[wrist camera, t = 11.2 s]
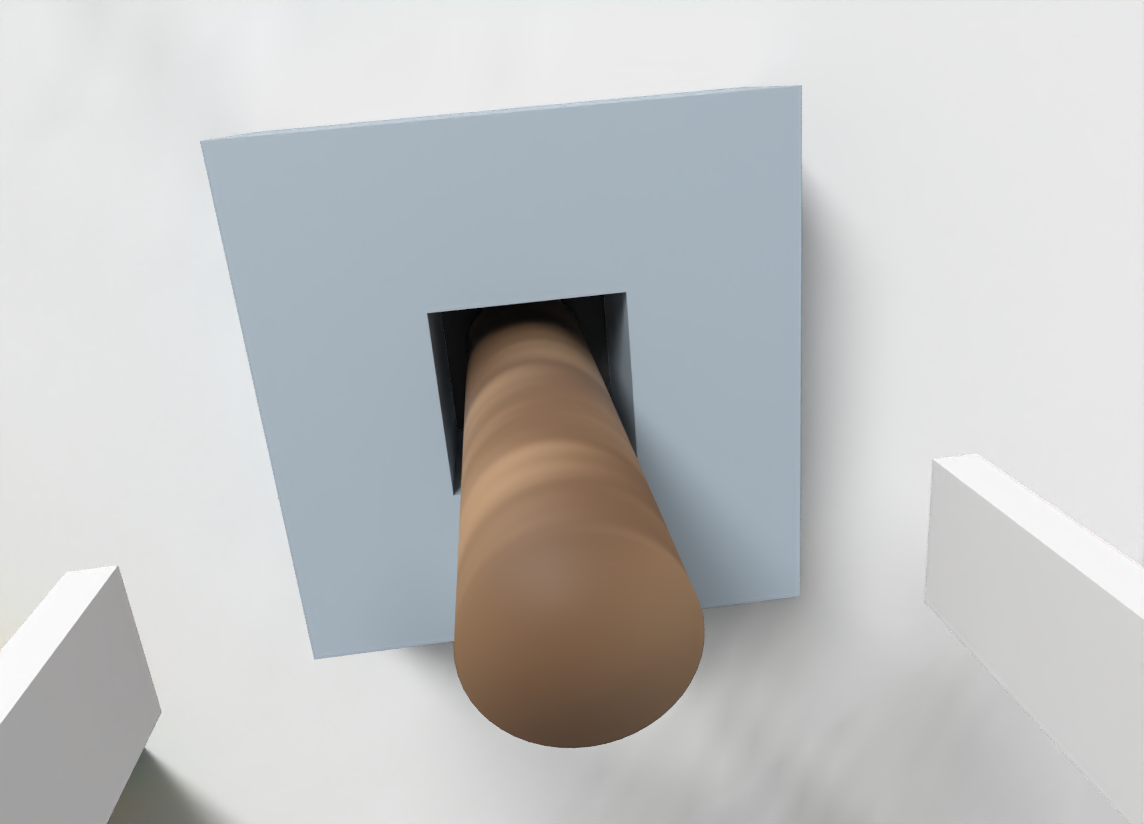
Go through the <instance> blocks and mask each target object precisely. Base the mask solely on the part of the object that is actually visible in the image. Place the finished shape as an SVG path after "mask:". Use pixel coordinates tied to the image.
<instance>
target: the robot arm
mask: <svg viewBox="0 0 1144 824" xmlns="http://www.w3.org/2000/svg"><path fill="white" fill-rule="evenodd" d="M924 603H925V604H926V605H927V606H928V607H929V608H930V609H931V610H932V611H933V612H934V613H935V614H936V616H937V617H938V618H939V619H940V620H941V621H942V622H943V623H944V624H945V625H946V626H947V627H948V629H949V630H950V631H951V632H952V633H953V634H954V635H955V636H956V637H957V638H958V639H959V640H960V642H961V643H962V644H963V645H964V646H965V647H966V648H967V649H968V650H969V651H970V652H971V653H972V654H973V656H974V657H975V658H976V659H977V660H978V661H979V662H980V663H981V664H982V665H983V666H984V667H985V669H986V670H987V671H988V672H989V673H990V674H991V675H992V676H993V677H994V678H995V679H996V680H997V682H998V683H999V684H1000V685H1001V686H1002V687H1003V688H1004V689H1005V690H1006V691H1007V692H1008V693H1009V695H1010V696H1011V697H1012V698H1013V699H1014V700H1015V701H1016V702H1017V703H1018V704H1019V705H1020V706H1021V708H1022V709H1023V710H1024V711H1025V712H1026V713H1027V714H1028V715H1029V716H1030V717H1031V718H1032V719H1033V721H1034V722H1035V723H1036V724H1037V725H1038V726H1039V727H1040V728H1041V729H1042V730H1043V731H1044V732H1045V733H1046V735H1047V736H1048V737H1049V738H1050V739H1051V740H1052V741H1053V742H1054V743H1055V744H1056V745H1057V746H1058V748H1059V749H1060V750H1061V751H1062V752H1063V753H1064V754H1065V755H1066V756H1067V757H1068V758H1069V759H1070V761H1071V762H1072V763H1073V764H1074V765H1075V766H1076V767H1077V768H1078V769H1079V770H1080V771H1081V772H1082V774H1083V775H1084V776H1085V777H1086V778H1087V779H1088V780H1089V781H1090V782H1091V783H1092V784H1093V785H1094V787H1095V788H1096V789H1097V790H1098V791H1099V792H1100V793H1101V794H1102V795H1103V796H1104V797H1105V798H1106V799H1107V800H1108V802H1109V803H1110V804H1111V805H1112V806H1113V807H1114V808H1115V809H1116V810H1117V811H1118V813H1120V815H1122V817H1123V818H1124V819H1125V820H1126V821H1127V822H1128V823H1129V824H1144V568H1143V567H1142V566H1140V565H1139V564H1138V563H1136V562H1135V561H1133V560H1132V559H1130V558H1129V557H1127V556H1126V555H1124V554H1123V553H1121V552H1120V551H1119V550H1117V549H1116V548H1114V547H1113V546H1111V545H1110V544H1108V543H1107V542H1105V541H1104V540H1102V539H1101V538H1100V537H1098V536H1097V535H1095V534H1094V533H1092V532H1091V531H1089V530H1088V529H1086V528H1085V527H1083V526H1082V525H1081V524H1079V523H1078V522H1076V521H1075V520H1073V519H1072V518H1070V517H1069V516H1067V515H1066V514H1064V513H1063V512H1061V511H1060V510H1059V509H1057V508H1056V507H1054V506H1053V505H1051V504H1050V503H1048V502H1047V501H1045V500H1044V499H1042V498H1041V497H1040V496H1038V495H1037V494H1035V493H1034V492H1032V491H1031V490H1029V489H1028V488H1026V487H1025V486H1023V485H1022V484H1021V483H1019V482H1018V481H1016V480H1015V479H1013V478H1012V477H1010V476H1009V475H1007V474H1006V473H1004V472H1003V471H1001V470H1000V469H999V468H997V467H996V466H994V465H993V464H991V463H990V462H988V461H987V460H985V459H984V458H982V457H981V456H980V455H978V454H977V453H976V454H968V455H961V456H953V457H945V458H938V459H933V461H932V479H931V496H930V514H929V532H928V549H927V567H926V584H925V602H924ZM160 714H161V709H160V705H159V702H158V698H157V695H156V692H155V688H154V685H153V682H152V678H151V675H150V671H149V668H148V665H147V661H146V658H145V654H144V651H143V648H142V644H141V641H140V638H139V634H138V631H137V627H136V624H135V621H134V617H133V614H132V611H131V607H130V604H129V600H128V597H127V594H126V590H125V587H124V583H123V580H122V577H121V573H120V570H119V567H118V565H115V566H107V567H100V568H92V569H84V570H76V571H69V572H66V573H65V574H64V575H63V577H62V578H61V579H60V580H59V581H58V583H57V584H56V585H55V586H54V587H53V589H52V590H51V591H50V592H49V593H48V595H47V596H46V597H45V598H44V599H43V600H42V602H41V603H40V604H39V605H38V606H37V608H36V609H35V610H34V611H33V612H32V614H31V615H30V616H29V617H28V618H27V620H26V621H25V622H24V623H23V624H22V625H21V627H20V628H19V629H18V630H17V631H16V633H15V634H14V635H13V636H12V637H11V639H10V640H9V641H8V642H7V643H6V645H5V646H4V647H3V648H2V649H1V651H0V824H107V822H108V820H109V818H110V816H111V814H112V812H113V810H114V808H115V806H116V804H117V802H118V800H119V798H120V796H121V794H122V792H123V790H124V788H125V786H126V784H127V781H128V779H129V777H130V775H131V773H132V771H133V769H134V767H135V765H136V763H137V761H138V759H139V757H140V755H141V753H142V751H143V749H144V747H145V745H146V743H147V741H148V739H149V737H150V735H151V733H152V731H153V729H154V726H155V724H156V722H157V720H158V718H159V716H160Z"/></svg>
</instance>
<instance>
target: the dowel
mask: <svg viewBox="0 0 1144 824" xmlns="http://www.w3.org/2000/svg"><path fill="white" fill-rule="evenodd" d="M703 646H704V620H703V614H702V610H701V606H700V603H699V600H698V598H697V595H696V593H695V591H694V589H693V586H692V584H691V582H690V579H689V577H688V575H687V572H686V570H685V568H684V565H683V563H682V561H681V559H680V556H679V554H678V552H677V549H676V547H675V545H674V542H673V540H672V538H671V536H670V533H669V531H668V529H667V526H666V524H665V522H664V519H663V517H662V515H661V512H660V510H659V508H658V506H657V503H656V501H655V499H654V496H653V494H652V492H651V489H650V487H649V485H648V483H647V480H646V478H645V476H644V473H643V471H642V469H641V466H640V464H639V462H638V459H637V457H636V455H635V453H634V450H633V448H632V446H631V443H630V441H629V439H628V436H627V434H626V432H625V430H624V427H623V425H622V423H621V420H620V418H619V416H618V413H617V411H616V409H615V407H614V404H613V402H612V400H611V397H610V395H609V393H608V390H607V388H606V386H605V383H604V381H603V379H602V377H601V374H600V372H599V370H598V367H597V365H596V363H595V360H594V358H593V356H592V354H591V351H590V349H589V347H588V344H587V342H586V340H585V337H584V335H583V333H582V330H581V328H580V326H579V324H578V321H577V319H576V318H575V316H574V315H573V313H572V312H571V311H570V309H569V308H568V307H567V306H566V305H565V304H564V303H562V302H561V301H560V300H558V299H556V300H546V301H537V302H527V303H518V304H509V305H499V306H490V307H484V308H483V309H482V310H481V311H480V312H479V314H478V315H477V317H476V318H475V320H474V322H473V324H472V326H471V329H470V333H469V337H468V350H467V371H466V393H465V414H464V436H463V457H462V479H461V500H460V521H459V543H458V564H457V586H456V607H455V629H454V659H455V665H456V669H457V673H458V677H459V679H460V682H461V684H462V687H463V689H464V690H465V692H466V694H467V695H468V697H469V699H470V701H471V702H472V703H473V704H474V705H475V707H476V708H477V709H478V710H479V712H481V713H482V714H483V715H484V716H485V717H486V718H487V719H488V720H489V721H490V722H492V723H493V724H495V725H496V726H497V727H499V728H500V729H502V730H504V731H506V732H507V733H509V734H511V735H513V736H515V737H518V738H520V739H523V740H526V741H528V742H532V743H536V744H540V745H544V746H551V747H558V748H580V747H591V746H596V745H602V744H607V743H610V742H613V741H616V740H620V739H622V738H625V737H627V736H629V735H632V734H634V733H636V732H638V731H640V730H642V729H643V728H645V727H647V726H649V725H650V724H652V723H653V722H654V721H656V720H657V719H659V718H660V717H661V716H662V715H664V714H665V713H666V712H667V711H668V710H669V709H670V708H671V707H672V706H673V705H674V704H675V703H676V702H677V701H678V700H679V698H680V697H681V696H682V695H683V693H684V692H685V690H686V689H687V687H688V686H689V684H690V683H691V681H692V679H693V677H694V675H695V673H696V671H697V668H698V665H699V662H700V659H701V656H702V651H703Z"/></svg>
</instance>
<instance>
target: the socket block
mask: <svg viewBox="0 0 1144 824" xmlns="http://www.w3.org/2000/svg"><path fill="white" fill-rule="evenodd" d="M200 143H201V148H202V152H203V157H204V161H205V166H206V170H207V175H208V179H209V184H210V188H211V193H212V197H213V202H214V206H215V211H216V216H217V220H218V225H219V229H220V234H221V238H222V243H223V247H224V252H225V256H226V261H227V265H228V270H229V275H230V279H231V284H232V288H233V293H234V297H235V302H236V306H237V311H238V315H239V320H240V324H241V329H242V333H243V338H244V343H245V347H246V352H247V356H248V361H249V365H250V370H251V374H252V379H253V383H254V388H255V392H256V397H257V402H258V406H259V411H260V415H261V420H262V424H263V429H264V433H265V438H266V442H267V447H268V451H269V456H270V460H271V465H272V470H273V474H274V479H275V483H276V488H277V492H278V497H279V501H280V506H281V510H282V515H283V519H284V524H285V529H286V533H287V538H288V542H289V547H290V551H291V556H292V560H293V565H294V569H295V574H296V578H297V583H298V587H299V592H300V597H301V601H302V606H303V610H304V615H305V619H306V624H307V628H308V633H309V637H310V642H311V646H312V651H313V656H314V659H321V658H329V657H337V656H344V655H352V654H360V653H367V652H375V651H383V650H391V649H398V648H406V647H414V646H421V645H429V644H437V643H444V642H452V641H454V629H455V607H456V586H457V564H458V543H459V521H460V500H461V479H462V457H463V436H464V429H458V428H457V421H456V414H455V407H454V400H453V393H452V385H451V378H450V371H449V364H448V357H447V350H446V342H445V335H444V328H443V321H442V314H441V312H443V311H452V310H462V309H471V308H481V307H490V306H499V305H509V304H518V303H527V302H537V301H546V300H556V299H565V298H574V297H584V296H593V295H604V308H605V321H606V335H607V348H608V362H609V375H610V388H611V400H612V402H613V404H614V407H615V409H616V411H617V413H618V416H619V418H620V420H621V423H622V425H623V427H624V430H625V432H626V434H627V436H628V439H629V441H630V443H631V446H632V448H633V450H634V453H635V455H636V457H637V459H638V462H639V464H640V466H641V469H642V471H643V473H644V476H645V478H646V480H647V483H648V485H649V487H650V489H651V492H652V494H653V496H654V499H655V501H656V503H657V506H658V508H659V510H660V512H661V515H662V517H663V519H664V522H665V524H666V526H667V529H668V531H669V533H670V536H671V538H672V540H673V542H674V545H675V547H676V549H677V552H678V554H679V556H680V559H681V561H682V563H683V565H684V568H685V570H686V572H687V575H688V577H689V579H690V582H691V584H692V586H693V589H694V591H695V593H696V595H697V598H698V600H699V603H700V606H701V609H705V608H713V607H721V606H728V605H736V604H744V603H751V602H759V601H767V600H774V599H782V598H790V597H797V596H800V474H801V186H802V85H801V86H769V87H741V88H730V89H719V90H709V91H698V92H687V93H676V94H665V95H654V96H644V97H633V98H622V99H611V100H600V101H589V102H579V103H568V104H557V105H546V106H535V107H525V108H514V109H503V110H492V111H481V112H470V113H460V114H449V115H438V116H427V117H416V118H405V119H395V120H384V121H373V122H362V123H351V124H340V125H330V126H319V127H308V128H297V129H286V130H276V131H265V132H254V133H247V134H241V135H235V136H229V137H223V138H217V139H211V140H204V141H200Z"/></svg>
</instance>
